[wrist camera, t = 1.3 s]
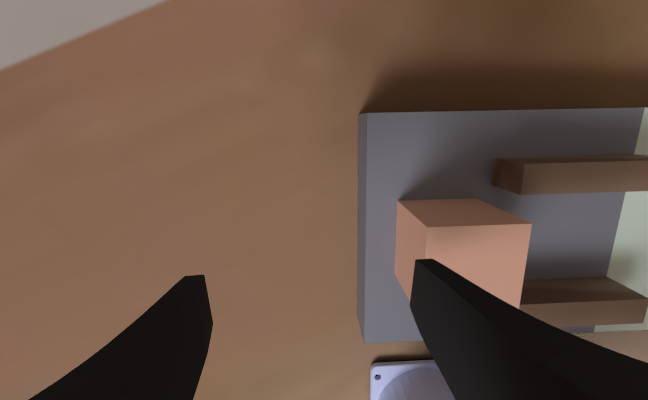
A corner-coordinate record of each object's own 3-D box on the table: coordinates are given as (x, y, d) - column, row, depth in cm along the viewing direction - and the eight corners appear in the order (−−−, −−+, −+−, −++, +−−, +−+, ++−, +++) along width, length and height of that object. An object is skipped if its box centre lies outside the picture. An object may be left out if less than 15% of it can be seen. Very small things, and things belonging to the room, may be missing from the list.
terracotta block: (468, 270, 18) (517, 316, 14) (394, 274, 18) (420, 321, 14) (476, 198, 17) (532, 223, 13) (397, 200, 17) (427, 227, 13)
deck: (748, 296, 23) (810, 321, 21) (357, 314, 22) (364, 343, 19) (816, 105, 20) (903, 102, 17) (358, 114, 19) (367, 112, 16)
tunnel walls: (601, 298, 19) (643, 323, 17) (477, 303, 19) (501, 330, 17) (633, 154, 17) (687, 159, 15) (494, 157, 17) (524, 163, 14)
